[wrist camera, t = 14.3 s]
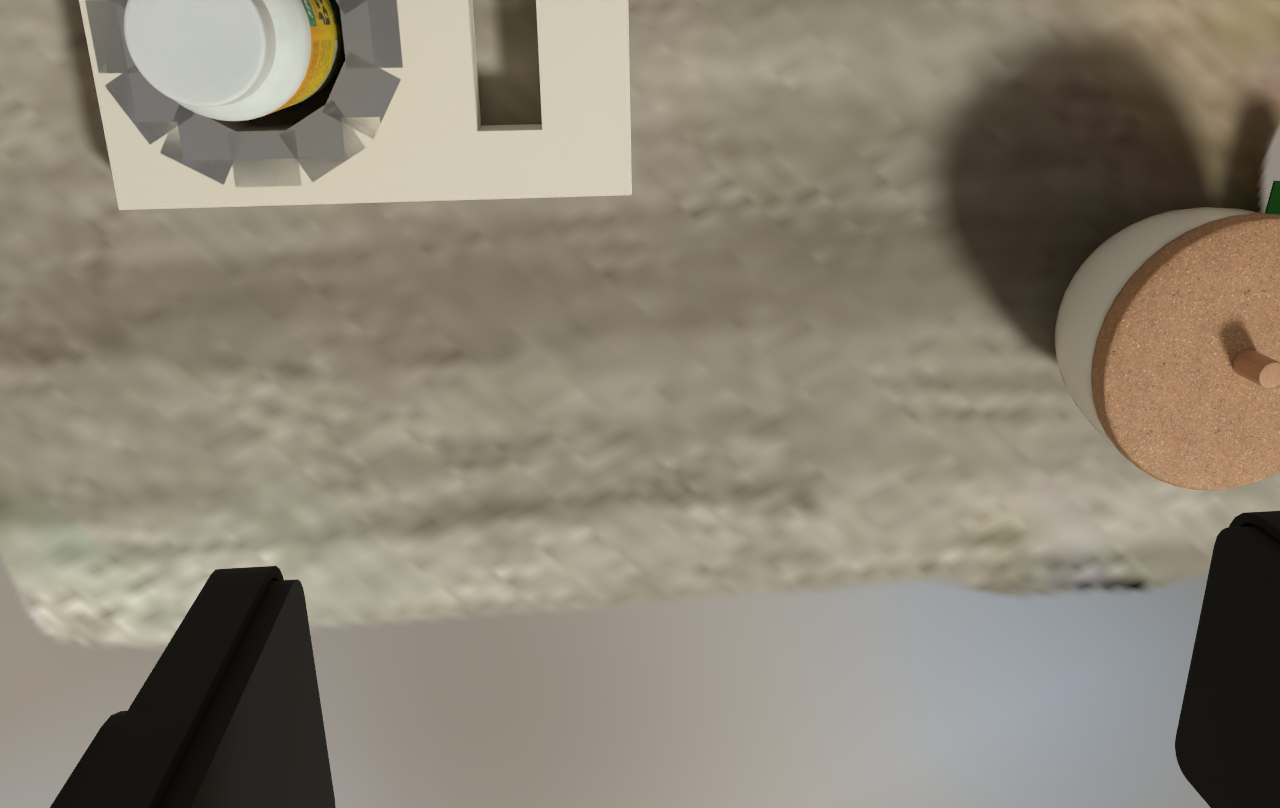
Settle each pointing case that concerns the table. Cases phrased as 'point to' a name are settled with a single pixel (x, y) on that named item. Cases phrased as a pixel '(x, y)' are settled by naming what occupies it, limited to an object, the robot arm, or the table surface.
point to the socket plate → (383, 117)
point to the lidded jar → (1181, 345)
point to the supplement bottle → (235, 52)
